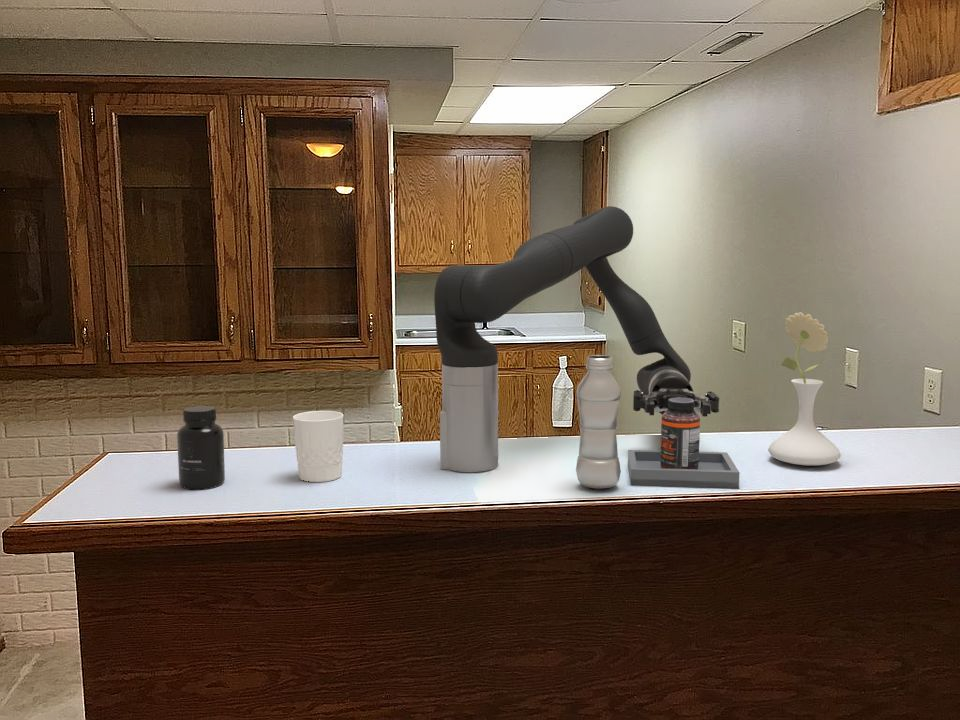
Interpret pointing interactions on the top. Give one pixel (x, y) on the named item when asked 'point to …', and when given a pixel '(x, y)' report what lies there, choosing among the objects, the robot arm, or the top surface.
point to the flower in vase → (805, 401)
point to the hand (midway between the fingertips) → (678, 409)
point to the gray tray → (683, 471)
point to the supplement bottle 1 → (200, 449)
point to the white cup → (319, 445)
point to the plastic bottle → (598, 425)
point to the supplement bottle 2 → (680, 435)
